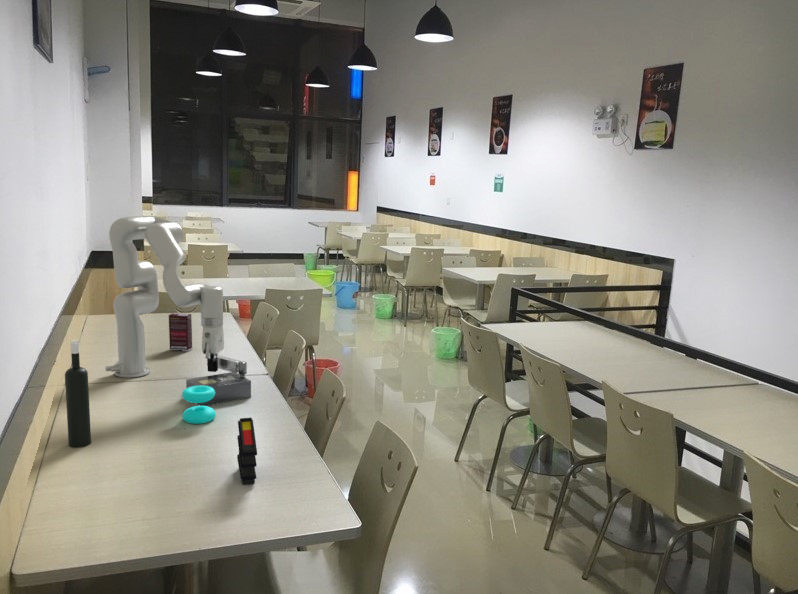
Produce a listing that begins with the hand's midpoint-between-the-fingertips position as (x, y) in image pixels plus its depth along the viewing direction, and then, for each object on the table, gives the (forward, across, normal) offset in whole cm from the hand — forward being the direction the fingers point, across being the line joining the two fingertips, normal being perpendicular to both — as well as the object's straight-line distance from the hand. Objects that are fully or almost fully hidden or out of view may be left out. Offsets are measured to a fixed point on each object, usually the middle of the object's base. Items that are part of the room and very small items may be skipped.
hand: (212, 370), depth 239 cm
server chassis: (+7, -7, -6) cm, 11 cm away
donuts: (+7, -30, -6) cm, 31 cm away
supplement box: (+7, +49, +32) cm, 59 cm away
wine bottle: (+7, -54, +19) cm, 58 cm away
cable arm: (0, +2, -5) cm, 5 cm away
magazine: (+7, -68, -34) cm, 76 cm away
